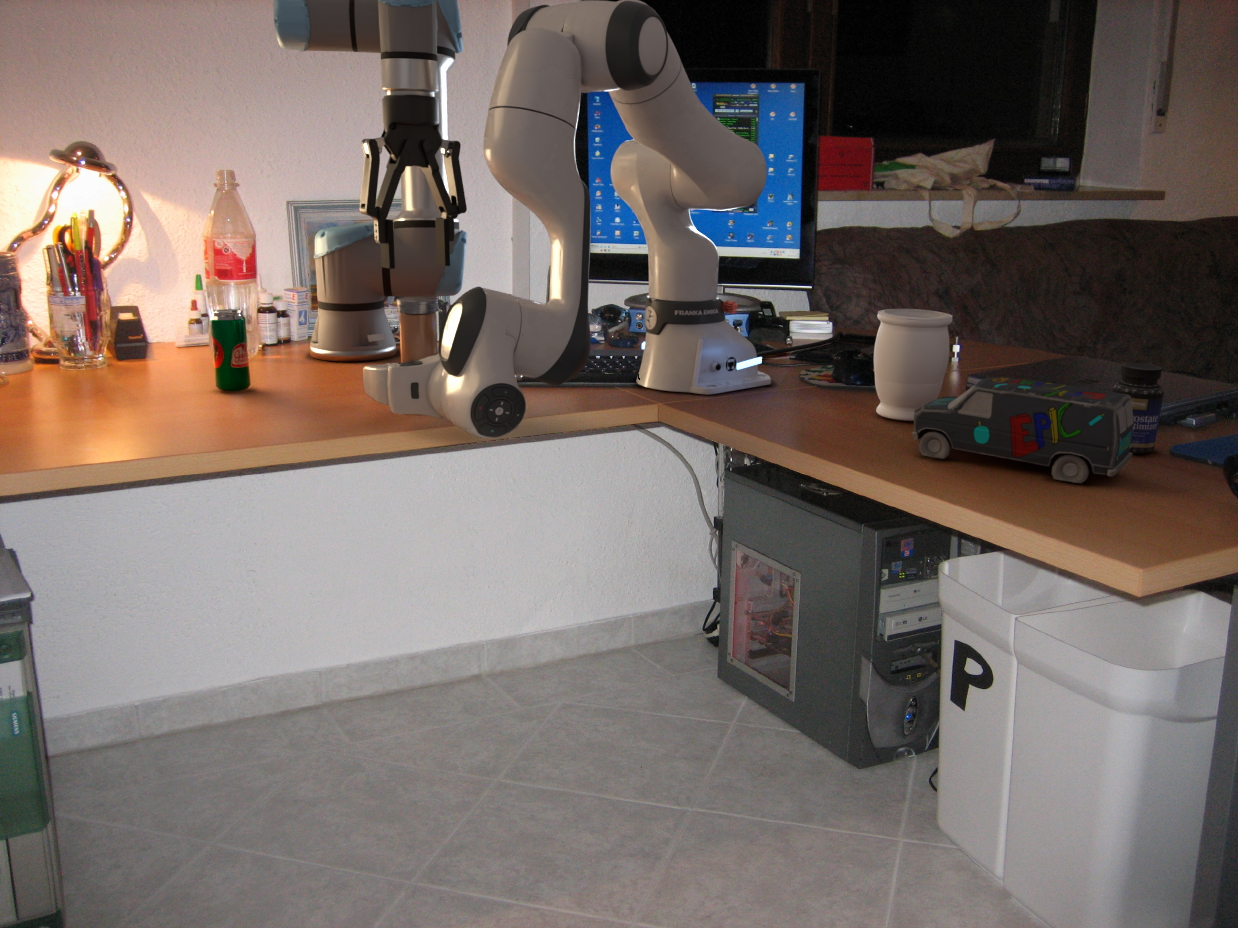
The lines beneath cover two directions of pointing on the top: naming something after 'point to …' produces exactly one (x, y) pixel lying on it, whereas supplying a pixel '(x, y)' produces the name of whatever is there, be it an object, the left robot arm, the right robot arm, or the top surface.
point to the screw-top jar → (418, 336)
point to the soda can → (230, 350)
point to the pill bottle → (1142, 402)
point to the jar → (910, 360)
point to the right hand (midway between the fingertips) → (422, 366)
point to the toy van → (1032, 426)
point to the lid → (417, 305)
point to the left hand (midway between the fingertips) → (416, 266)
